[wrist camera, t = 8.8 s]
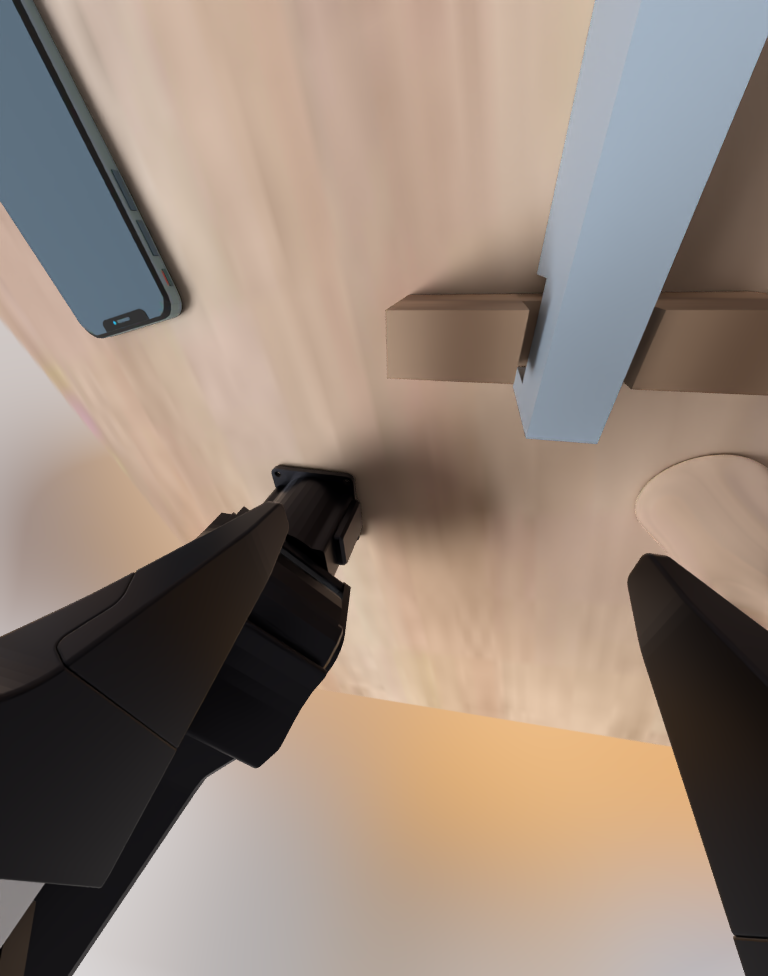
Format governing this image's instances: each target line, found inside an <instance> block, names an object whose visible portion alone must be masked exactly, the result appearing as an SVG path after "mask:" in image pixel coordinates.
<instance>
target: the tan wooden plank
mask: <svg viewBox="0 0 768 976" xmlns="http://www.w3.org/2000/svg"><path fill="white" fill-rule="evenodd" d="M542 297H543V294H446V295H408V296H406V297H405V298H403V299H402V300H400V301H399V302H397V303H396V304H394V305H393V306H391V307H390V308H388V309H387V310H385V311H386V350H387V378H389V379H411V380H433V381H456V382H478V383H501V384H514V381H515V376H516V371H517V367H518V366H527V362H528V357H529V353H530V349H531V344H532V340H533V336H534V331H535V327H536V323H537V318H538V314H539V310H540V305H541V301H542ZM623 382H624V383H625V384H626V385H627V386H628V387H629V388H630V389H635V390H657V391H680V392H702V393H725V394H747V395H768V294H766V293H760V292H754V291H737V292H660V295H659V297H658V300H657V302H656V304H655V307H654V309H653V311H652V314H651V316H650V319H649V321H648V323H647V326H646V328H645V331H644V333H643V335H642V338H641V340H640V343H639V345H638V347H637V350H636V352H635V355H634V357H633V359H632V362H631V364H630V367H629V369H628V371H627V374H626V376H625V379H624V381H623Z"/></svg>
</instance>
